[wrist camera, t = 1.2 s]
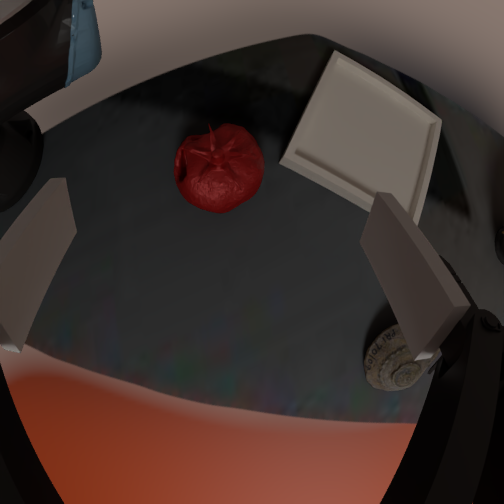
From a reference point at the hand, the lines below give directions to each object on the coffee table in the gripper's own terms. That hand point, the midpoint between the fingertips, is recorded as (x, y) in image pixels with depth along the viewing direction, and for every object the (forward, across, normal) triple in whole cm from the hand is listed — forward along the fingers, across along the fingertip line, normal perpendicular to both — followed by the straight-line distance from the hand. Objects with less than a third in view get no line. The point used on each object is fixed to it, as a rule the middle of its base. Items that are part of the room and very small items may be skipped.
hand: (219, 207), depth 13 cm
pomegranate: (+24, 0, -10) cm, 27 cm away
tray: (+30, +20, -5) cm, 36 cm away
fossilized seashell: (+10, +25, -27) cm, 39 cm away
